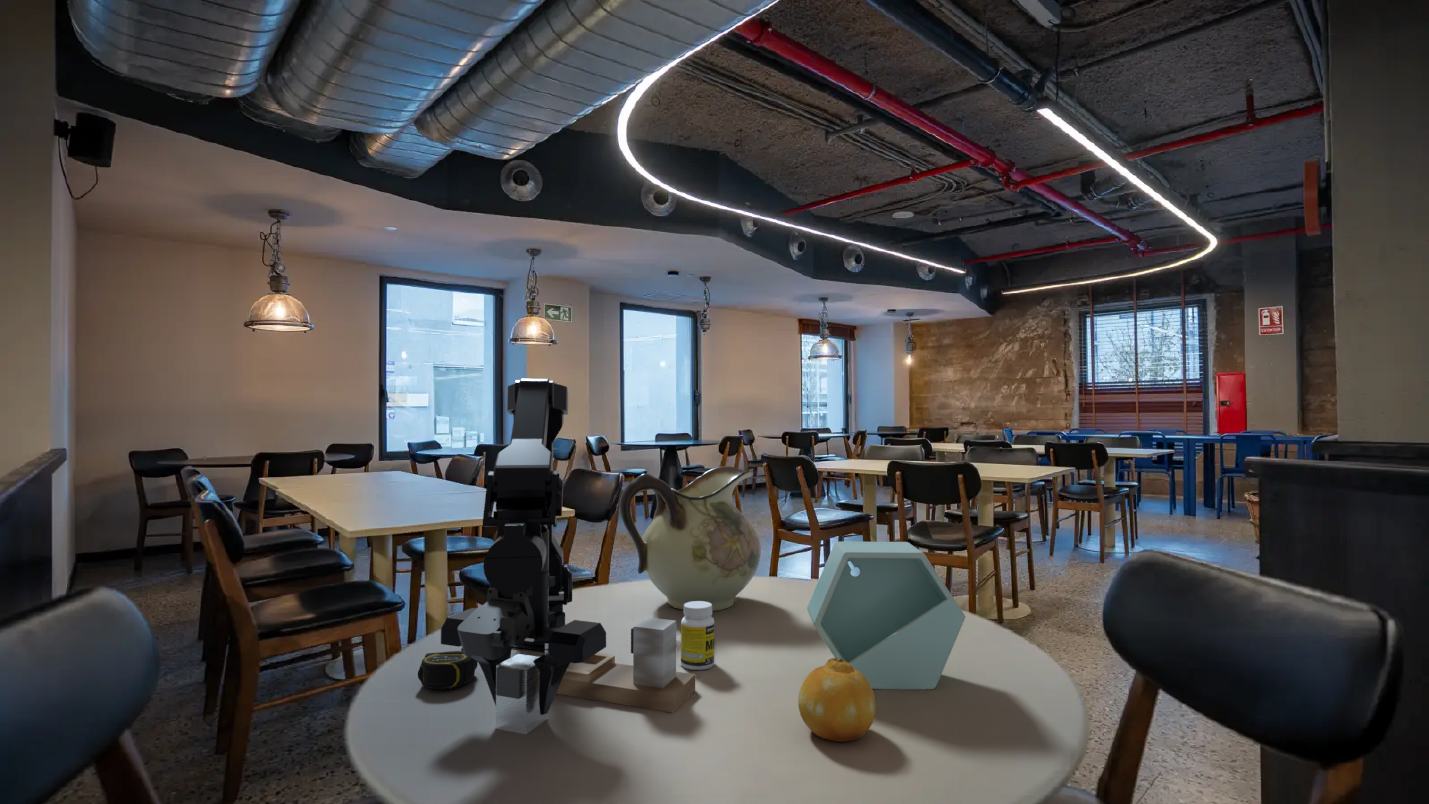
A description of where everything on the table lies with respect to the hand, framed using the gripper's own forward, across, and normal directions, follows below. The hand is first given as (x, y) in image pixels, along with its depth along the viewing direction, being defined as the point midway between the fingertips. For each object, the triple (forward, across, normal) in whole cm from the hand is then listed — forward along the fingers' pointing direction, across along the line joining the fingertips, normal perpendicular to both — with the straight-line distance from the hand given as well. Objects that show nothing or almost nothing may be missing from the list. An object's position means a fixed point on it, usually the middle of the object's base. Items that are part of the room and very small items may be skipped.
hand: (521, 709), depth 77 cm
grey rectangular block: (+2, 0, 0) cm, 2 cm away
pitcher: (+2, +1, +53) cm, 53 cm away
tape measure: (+2, -17, +7) cm, 18 cm away
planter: (+2, +37, +28) cm, 46 cm away
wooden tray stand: (+2, +5, +12) cm, 13 cm away
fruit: (+2, +34, +10) cm, 35 cm away
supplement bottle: (+2, +12, +24) cm, 27 cm away
